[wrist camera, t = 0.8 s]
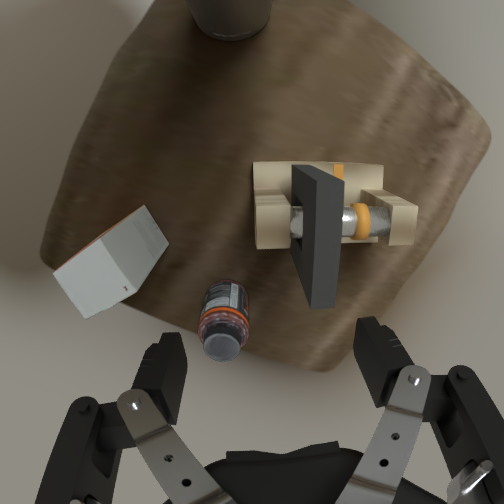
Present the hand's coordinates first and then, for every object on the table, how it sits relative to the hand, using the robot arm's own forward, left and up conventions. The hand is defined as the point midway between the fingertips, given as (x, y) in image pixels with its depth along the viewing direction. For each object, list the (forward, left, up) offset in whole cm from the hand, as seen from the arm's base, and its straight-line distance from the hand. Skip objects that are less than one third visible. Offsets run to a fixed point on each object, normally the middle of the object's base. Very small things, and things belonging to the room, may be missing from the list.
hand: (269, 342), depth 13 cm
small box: (+3, -16, -26) cm, 31 cm away
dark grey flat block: (-1, +5, -21) cm, 22 cm away
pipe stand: (-1, +8, -26) cm, 27 cm away
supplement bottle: (+12, -4, -26) cm, 29 cm away
